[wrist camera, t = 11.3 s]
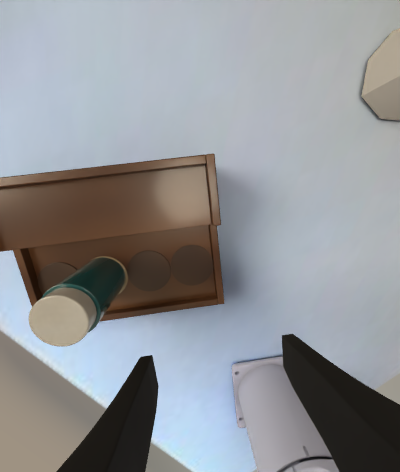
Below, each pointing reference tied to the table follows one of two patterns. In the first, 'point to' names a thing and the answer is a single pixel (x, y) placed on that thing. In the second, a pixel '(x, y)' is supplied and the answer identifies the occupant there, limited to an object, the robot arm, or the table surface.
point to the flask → (384, 79)
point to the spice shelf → (120, 230)
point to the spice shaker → (77, 302)
